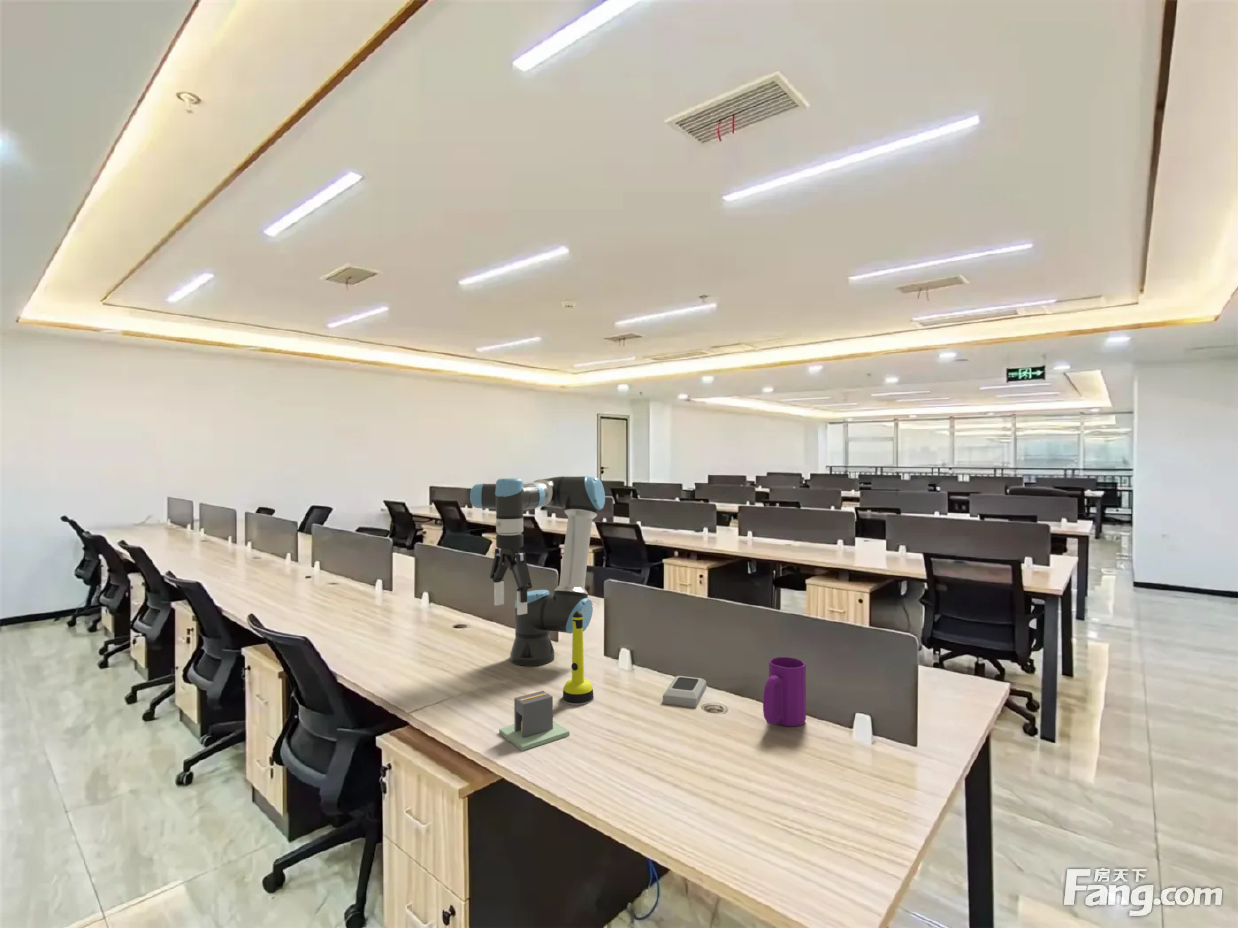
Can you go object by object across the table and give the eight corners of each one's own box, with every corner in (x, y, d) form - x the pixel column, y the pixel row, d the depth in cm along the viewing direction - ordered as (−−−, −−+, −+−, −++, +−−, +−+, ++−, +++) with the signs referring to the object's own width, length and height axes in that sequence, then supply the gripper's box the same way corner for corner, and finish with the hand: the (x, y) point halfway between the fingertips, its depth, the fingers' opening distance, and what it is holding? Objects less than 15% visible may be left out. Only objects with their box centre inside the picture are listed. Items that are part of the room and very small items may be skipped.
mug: (812, 719, 154) (811, 662, 155) (782, 739, 143) (782, 677, 143) (780, 709, 161) (779, 654, 161) (749, 728, 150) (749, 668, 150)
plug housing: (543, 722, 151) (542, 690, 151) (552, 729, 147) (552, 696, 147) (514, 730, 146) (514, 697, 146) (523, 737, 142) (523, 703, 142)
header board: (544, 719, 156) (544, 703, 156) (569, 735, 146) (569, 719, 146) (499, 732, 148) (499, 716, 148) (522, 751, 138) (522, 733, 138)
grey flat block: (662, 691, 166) (675, 673, 180) (662, 704, 166) (675, 685, 180) (696, 695, 163) (706, 677, 177) (696, 708, 163) (706, 689, 177)
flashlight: (575, 606, 175) (555, 612, 168) (599, 610, 170) (579, 616, 163) (576, 690, 175) (555, 700, 168) (600, 697, 170) (580, 707, 163)
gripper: (478, 530, 173) (478, 603, 173) (519, 538, 154) (520, 620, 154) (501, 528, 178) (502, 599, 178) (544, 536, 158) (545, 615, 158)
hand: (510, 609), depth 166 cm, fingers open, 13 cm apart
